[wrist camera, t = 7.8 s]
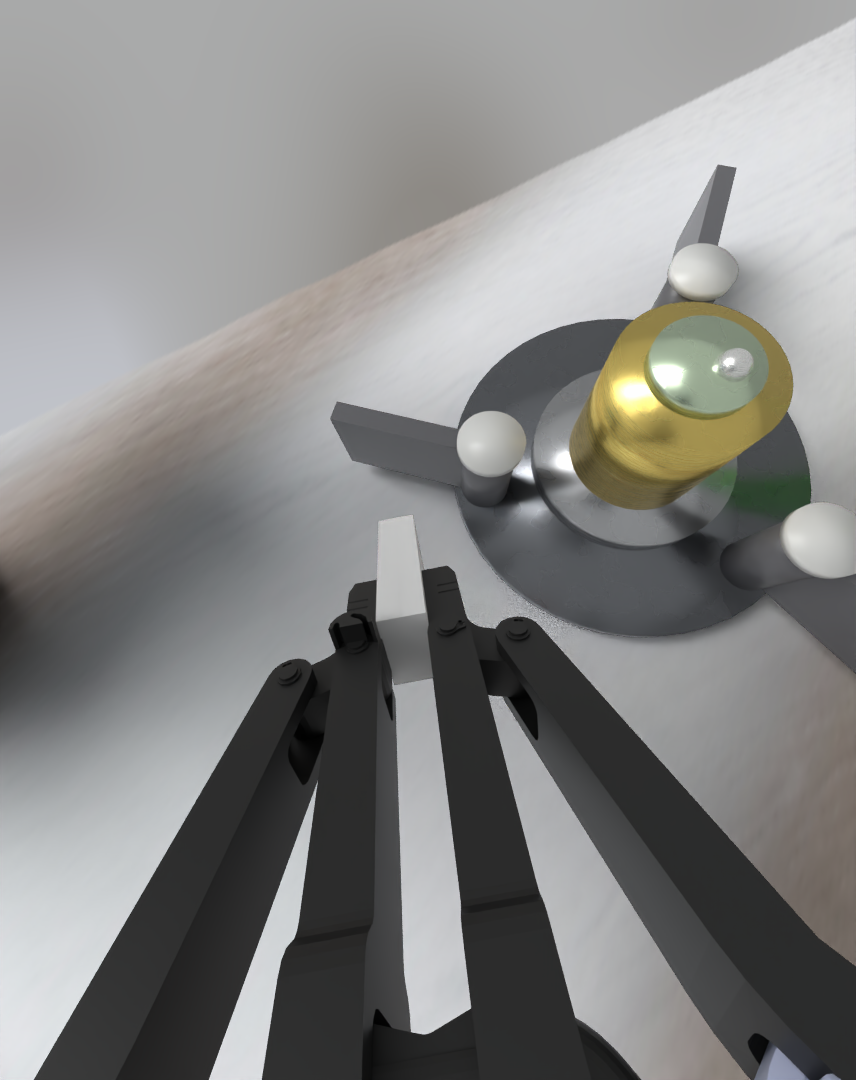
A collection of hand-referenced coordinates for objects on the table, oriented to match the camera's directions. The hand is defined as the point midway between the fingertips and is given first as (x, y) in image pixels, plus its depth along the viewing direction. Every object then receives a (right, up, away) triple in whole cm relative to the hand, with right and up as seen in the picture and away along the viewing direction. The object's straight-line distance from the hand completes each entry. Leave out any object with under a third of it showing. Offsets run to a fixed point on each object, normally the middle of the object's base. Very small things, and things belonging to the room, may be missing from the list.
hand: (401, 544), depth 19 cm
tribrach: (+15, +5, +12) cm, 20 cm away
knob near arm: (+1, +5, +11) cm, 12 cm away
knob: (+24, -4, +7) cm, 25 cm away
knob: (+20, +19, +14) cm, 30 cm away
